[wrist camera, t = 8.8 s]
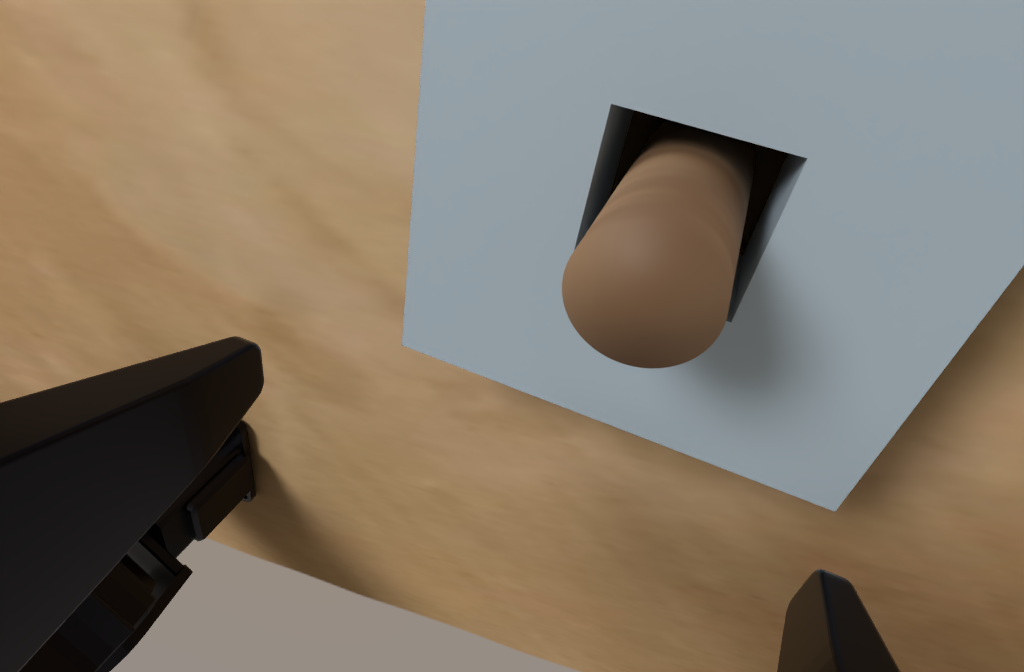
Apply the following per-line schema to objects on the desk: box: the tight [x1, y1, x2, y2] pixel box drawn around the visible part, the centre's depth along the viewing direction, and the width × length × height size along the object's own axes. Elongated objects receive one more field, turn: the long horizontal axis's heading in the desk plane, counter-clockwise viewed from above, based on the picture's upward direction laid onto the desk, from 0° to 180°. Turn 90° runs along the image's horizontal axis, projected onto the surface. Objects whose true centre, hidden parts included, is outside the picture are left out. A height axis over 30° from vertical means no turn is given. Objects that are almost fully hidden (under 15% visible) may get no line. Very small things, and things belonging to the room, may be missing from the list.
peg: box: [562, 120, 755, 369], centre depth 15 cm, size 3×3×8 cm
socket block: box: [402, 0, 1024, 512], centre depth 17 cm, size 14×14×4 cm
